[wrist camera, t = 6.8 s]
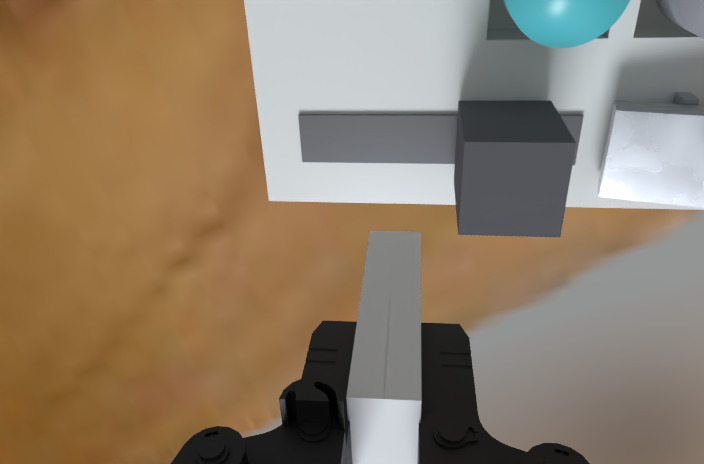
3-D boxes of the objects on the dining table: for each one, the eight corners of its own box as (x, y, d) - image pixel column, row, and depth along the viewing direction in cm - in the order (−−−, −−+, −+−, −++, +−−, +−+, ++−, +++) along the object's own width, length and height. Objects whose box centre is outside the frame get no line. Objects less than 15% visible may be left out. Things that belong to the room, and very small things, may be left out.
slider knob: (453, 181, 27) (458, 234, 23) (458, 100, 25) (464, 142, 21) (539, 183, 27) (560, 237, 23) (551, 100, 25) (576, 142, 21)
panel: (281, 176, 32) (264, 209, 29) (250, -111, 25) (222, -113, 22) (693, 182, 30) (728, 220, 26) (787, -137, 23) (851, -142, 19)
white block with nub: (597, 183, 27) (598, 197, 26) (614, 100, 25) (616, 110, 24) (744, 198, 25) (752, 213, 24) (775, 109, 23) (786, 121, 22)
